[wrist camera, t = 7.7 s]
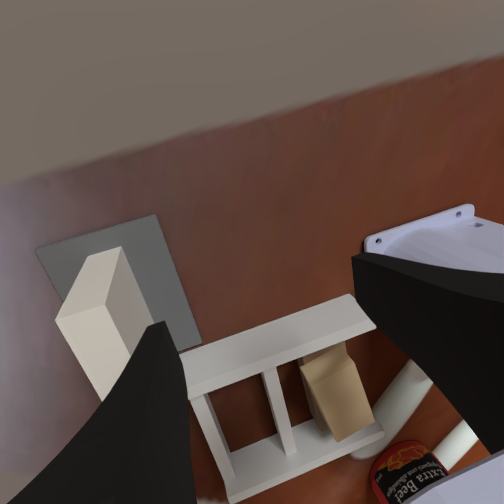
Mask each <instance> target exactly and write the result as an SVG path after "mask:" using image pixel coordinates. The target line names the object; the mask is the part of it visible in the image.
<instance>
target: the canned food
mask: <svg viewBox="0 0 504 504" xmlns="http://www.w3.org/2000/svg"><path fill="white" fill-rule="evenodd" d="M449 475H450V473H449V472H448V471H447V470H446V469H445V467H444V466H443V465H442V464H441V463H440V461H439V460H438V459H437V458H436V457H435V455H434V454H433V453H432V452H431V451H430V450H429V449H428V448H427V447H426V446H424V445H423V444H422V443H420V442H418V441H404V442H400V443H398V444H395V445H394V446H392V447H390V448H389V449H387V450H386V451H385V452H384V453H382V454H381V455H380V456H379V458H378V459H377V460H376V461H375V463H374V465H373V467H372V469H371V473H370V481H371V485H372V488H373V491H374V493H375V495H376V496H377V498H378V500H379V501H380V503H381V504H402V503H403V502H404V501H405V500H407V499H408V498H410V497H411V496H413V495H414V494H416V493H417V492H419V491H420V490H422V489H423V488H425V487H427V486H428V485H430V484H432V483H434V482H436V481H438V480H440V479H442V478H444V477H447V476H449Z"/></svg>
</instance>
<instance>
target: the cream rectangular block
mask: <svg viewBox="0 0 504 504" xmlns="http://www.w3.org/2000/svg"><path fill="white" fill-rule="evenodd" d="M55 321H56V323H57V325H58V327H59V328H60V330H61V332H62V333H63V335H64V337H65V339H66V340H67V342H68V344H69V345H70V347H71V349H72V351H73V352H74V354H75V356H76V357H77V359H78V361H79V363H80V364H81V366H82V368H83V369H84V371H85V373H86V375H87V376H88V378H89V380H90V381H91V383H92V385H93V387H94V388H95V390H96V392H97V393H98V395H99V397H100V399H101V400H102V402H103V400H104V399H105V398H106V396H107V395H108V393H109V392H110V390H111V389H112V387H113V386H114V384H115V383H116V381H117V379H118V378H119V376H120V375H121V373H122V371H123V370H124V368H125V366H126V365H127V363H128V361H129V359H130V357H131V356H132V354H133V352H134V350H135V348H136V346H137V345H138V343H139V341H140V339H141V337H142V335H143V333H144V331H145V330H146V328H147V326H149V325H152V324H154V321H153V319H152V317H151V314H150V312H149V310H148V307H147V305H146V303H145V300H144V298H143V296H142V293H141V291H140V289H139V286H138V284H137V282H136V279H135V277H134V275H133V272H132V270H131V267H130V265H129V263H128V260H127V258H126V256H125V253H124V251H123V249H122V246H120V247H117V248H114V249H110V250H107V251H103V252H100V253H97V254H93V255H90V256H88V257H87V259H86V260H85V262H84V264H83V266H82V268H81V270H80V272H79V274H78V276H77V278H76V280H75V282H74V284H73V286H72V288H71V290H70V292H69V294H68V296H67V298H66V300H65V302H64V304H63V306H62V307H61V309H60V311H59V313H58V315H57V317H56V319H55Z"/></svg>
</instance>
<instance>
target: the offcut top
mask: <svg viewBox="0 0 504 504" xmlns="http://www.w3.org/2000/svg"><path fill="white" fill-rule="evenodd" d="M300 368H301V371H302V373H303V375H304V377H305V379H306V381H307V383H308V386H309V388H310V390H311V392H312V394H313V396H314V398H315V401H316V403H317V405H318V407H319V409H320V411H321V413H322V416H323V418H324V420H325V422H326V424H327V426H328V427H329V429H330V431H331V433H332V435H333V436H334V438H335V440H336V442H337V443H338V442H340V441H342V440H343V439H345V438H347V437H349V436H350V435H352V434H354V433H356V432H358V431H359V430H361V429H363V428H365V427H366V426H368V425H370V424H372V423H373V422H375V420H374V417H373V414H372V411H371V408H370V405H369V403H368V400H367V397H366V394H365V391H364V389H363V386H362V383H361V380H360V377H359V374H358V372H357V369H356V366H355V363H354V362H353V361H352V359H351V358H350V357H349V356H348V354H347V353H346V352H345V351H344V349H343V348H342V347H341V346H339V347H337V348H335V349H333V350H331V351H329V352H327V353H326V354H324V355H322V356H320V357H318V358H316V359H314V360H313V361H311V362H309V363H307V364H305V365H303V366H301V367H300Z"/></svg>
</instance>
